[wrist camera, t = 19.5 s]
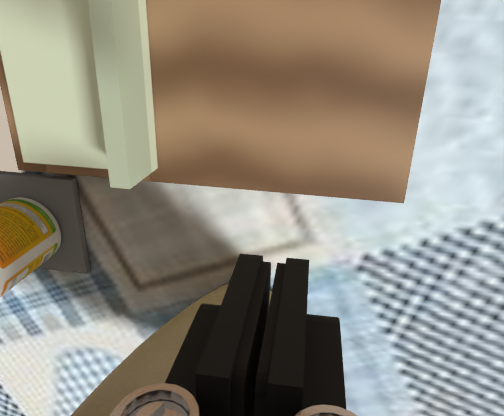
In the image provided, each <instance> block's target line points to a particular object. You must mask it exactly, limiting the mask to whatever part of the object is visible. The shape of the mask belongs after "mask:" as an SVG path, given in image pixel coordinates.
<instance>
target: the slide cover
mask: <svg viewBox="0 0 504 416" xmlns="http://www.w3.org/2000/svg"><path fill="white" fill-rule="evenodd" d="M0 51H1V56H2V61H3V66H4V71H5V75H6V80H7V85H8V90H9V95H10V100H11V104H12V109H13V114H14V119H15V124H16V128H17V133H18V138H19V143H20V148H21V153H22V157H23V162H27V163H39V164H51V165H63V166H75V167H88V168H100V169H108V172H109V181H110V187H111V188H122V189H131V188H132V187H134V186H135V185H136V184H138V183H139V182H140V181H142V180H143V179H144V178H146V177H147V176H148V175H149V174H151V173H152V172H153V171H155V170H156V169H157V168H158V163H157V149H156V135H155V121H154V108H153V94H152V80H151V66H150V52H149V38H148V24H147V11H146V0H0Z"/></svg>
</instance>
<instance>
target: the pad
mask: <svg viewBox="0 0 504 416" xmlns="http://www.w3.org/2000/svg"><path fill="white" fill-rule="evenodd" d="M18 197H23V198H29V199H32V200H35V201H37V202H39V203H41V204H42V205H43V206H45V207H46V208H47V209H48V210H49V211H50V212H51V213H52V214H53V216H54V217H55V219H56V220H57V222H58V225H59V227H60V231H61V243H60V246H59V248H58V250H57V251H56V252H55V253H54V254H53V255H52V256H51V257H50V258H49V259H48V260H46V261H45V262H44V263H43V264H41V265H40V266H39V267H38V268H46V269H53V270H61V271H69V272H77V273H85V274H87V273H88V272H89V271H90V264H89V258H88V252H87V245H86V239H85V232H84V226H83V220H82V213H81V207H80V201H79V194H78V188H77V181H76V178H73V177H62V176H50V175H39V174H27V173H16V172H5V171H0V204H1V203H3V202H5V201H7V200H9V199H12V198H18Z"/></svg>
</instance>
